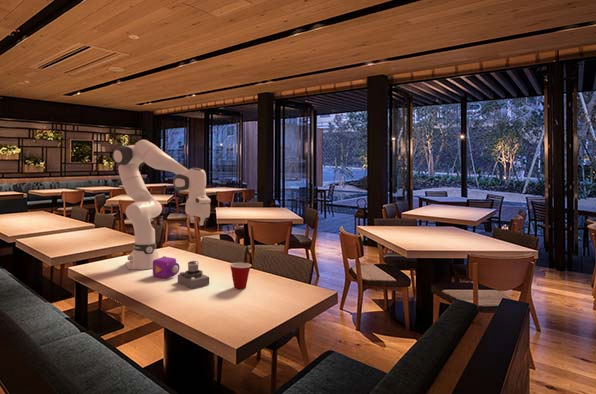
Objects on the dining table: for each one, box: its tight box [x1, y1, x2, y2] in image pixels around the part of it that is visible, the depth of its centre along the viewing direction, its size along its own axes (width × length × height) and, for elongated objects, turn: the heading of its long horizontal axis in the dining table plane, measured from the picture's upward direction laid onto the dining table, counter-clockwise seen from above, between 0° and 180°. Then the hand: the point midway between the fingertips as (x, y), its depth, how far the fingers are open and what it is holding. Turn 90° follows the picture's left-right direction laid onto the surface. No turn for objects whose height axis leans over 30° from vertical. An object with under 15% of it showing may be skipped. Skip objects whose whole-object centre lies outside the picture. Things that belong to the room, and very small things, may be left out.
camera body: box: [177, 269, 210, 290], centre depth 190 cm, size 14×10×6 cm
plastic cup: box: [229, 262, 252, 290], centre depth 184 cm, size 11×11×12 cm
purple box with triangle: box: [152, 255, 181, 279], centre depth 202 cm, size 11×14×10 cm
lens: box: [187, 260, 199, 274], centre depth 189 cm, size 5×5×7 cm
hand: (196, 224), depth 199 cm, fingers open, 8 cm apart
